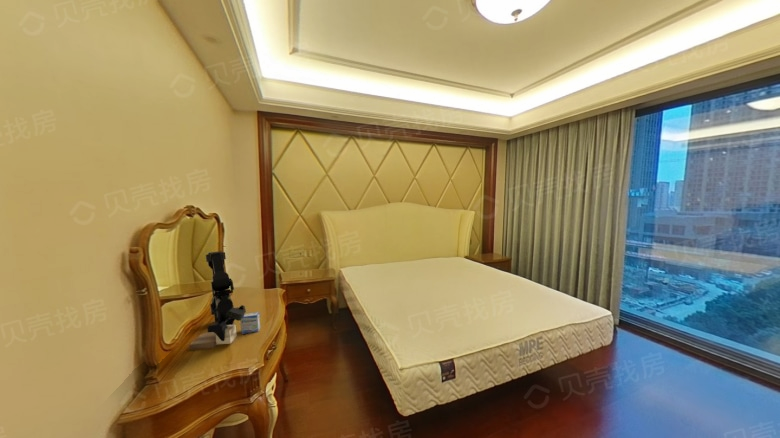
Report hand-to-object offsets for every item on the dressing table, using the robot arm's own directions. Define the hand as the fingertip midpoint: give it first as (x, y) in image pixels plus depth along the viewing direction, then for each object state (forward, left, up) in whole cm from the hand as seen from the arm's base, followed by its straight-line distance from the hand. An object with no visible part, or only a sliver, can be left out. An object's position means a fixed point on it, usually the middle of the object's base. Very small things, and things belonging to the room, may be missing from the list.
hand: (226, 337), depth 127 cm
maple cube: (0, 0, -2) cm, 2 cm away
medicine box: (-12, +6, -4) cm, 14 cm away
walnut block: (-3, -10, -4) cm, 11 cm away
